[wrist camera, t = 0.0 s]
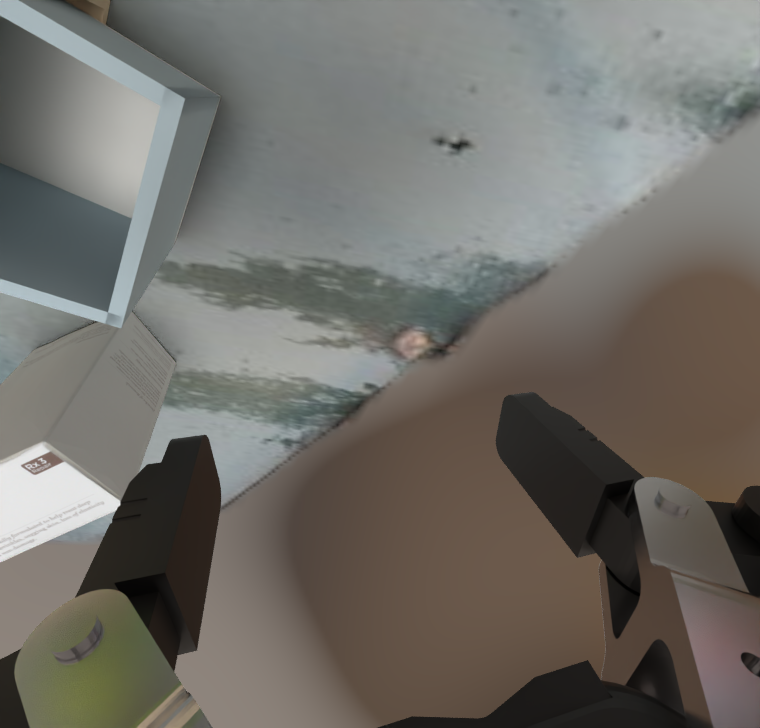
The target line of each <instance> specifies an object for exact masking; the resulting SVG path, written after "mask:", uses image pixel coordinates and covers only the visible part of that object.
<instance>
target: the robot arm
mask: <svg viewBox="0 0 760 728" xmlns="http://www.w3.org/2000/svg"><path fill="white" fill-rule="evenodd" d="M496 446H497V451H498V454H499V456H500V458H501V459H502V461H503V462H504V464H505V465H506V466H507V467H508V469H509V470H510V471H511V473H512V474H513V475H514V476H515V478H516V479H517V480H518V481H519V483H520V484H521V485H522V487H523V488H524V489H525V491H526V492H527V493H528V495H529V496H530V497H531V499H532V500H533V501H534V502H535V504H536V505H537V506H538V508H539V509H540V510H541V511H542V513H543V514H544V515H545V517H546V518H547V519H548V520H549V522H550V523H551V524H552V526H553V527H554V528H555V529H556V530H557V532H558V533H559V535H560V536H561V537H562V539H563V540H564V541H565V543H566V544H567V545H568V546H569V548H570V549H571V550H572V552H573V553H574V554H575V556H576V557H577V558H578V557H582V556H586V555H590V554H594V553H597V554H598V556H599V557H600V558H601V559H602V561H601V563H600V565H599V580H600V591H601V602H602V613H603V624H604V634H605V659H604V664H603V669H602V676H601V680H600V679H599V677H598V676H597V674H596V673H595V671H594V670H593V668H592V666H591V664H590V663H589V661H588V660H587V661H584V662H581V663H578V664H575V665H571V666H568V667H565V668H562V669H559V670H556V671H553V672H550V673H547V674H544V675H541V676H537V677H535V678H533V679H532V680H531V681H530V682H529V683H527V684H526V685H525V686H524V687H523V688H521V689H520V690H519V691H518V692H517V693H515V694H514V695H513V696H512V697H510V698H509V699H508V700H507V701H506V702H505V703H504V704H502V705H501V706H500V707H498V708H497V709H496V710H495V711H494V712H492V713H491V714H490V715H488V716H487V717H484V718H479V719H474V718H443V717H442V718H440V717H409V718H406V719H404V720H400V721H397V722H394V723H391V724H388V725H384V726H381V727H378V728H760V486H750V487H747V488H746V489H745V490H744V491H743V492H742V494H741V496H740V497H739V499H738V500H737V502H736V503H724V502H712V501H704V500H703V499H702V498H701V497H700V496H699V495H697V494H696V493H694V492H693V491H691V490H690V489H688V488H686V487H684V486H682V485H680V484H678V483H675V482H673V481H670V480H666V479H662V478H655V477H647V478H644V477H643V476H642V475H641V474H640V473H638V472H637V471H636V470H635V469H634V468H632V467H631V466H630V465H629V464H628V463H626V462H625V461H624V460H623V459H622V458H620V457H619V456H618V455H617V454H615V453H614V452H613V451H612V450H611V449H610V448H608V447H607V446H606V445H605V444H604V443H603V442H601V441H598V440H597V437H595V436H594V435H593V434H592V433H591V432H589V431H588V430H587V431H586V430H585V427H584V426H582V425H581V424H580V423H579V422H577V421H576V420H575V419H574V418H573V417H572V416H570V415H568V414H566V413H564V412H562V411H560V410H558V409H556V408H554V407H551V406H550V405H549V404H548V403H547V402H545V401H544V400H543V399H542V398H541V397H539V395H537V394H536V393H534V392H529V393H521V394H514V395H508V396H506V397H505V398H504V401H503V404H502V410H501V415H500V421H499V426H498V430H497V436H496ZM220 508H221V487H220V481H219V477H218V473H217V469H216V465H215V461H214V458H213V454H212V450H211V446H210V442H209V439H208V437H207V436H206V435H201V436H193V437H186V438H178V439H172V440H171V441H170V442H169V444H168V447H167V450H166V452H165V455H164V457H163V460H162V462H161V463H155V464H148V465H146V466H145V467H144V468H143V469H142V470H141V471H140V472H139V473H138V474H137V475H136V476H135V477H134V478H133V479H132V480H131V481H130V482H129V484H128V487H127V489H126V491H125V493H124V495H123V497H122V499H121V502H120V506H118V508H117V510H116V512H115V514H114V516H113V519H112V523H111V524H110V525H109V527H108V529H107V531H106V533H105V536H104V538H103V540H102V542H101V544H100V546H99V548H98V551H97V553H96V555H95V557H94V559H93V561H92V563H91V565H90V568H89V570H88V572H87V574H86V577H85V578H84V580H83V583H82V585H81V587H80V589H79V591H78V593H77V595H76V597H75V598H74V599H72V600H70V601H68V602H67V603H65V604H64V605H62V606H61V607H59V608H58V609H56V610H55V611H54V612H52V613H51V614H50V615H49V616H48V617H47V618H45V619H44V620H43V621H42V622H41V623H40V624H39V625H38V626H37V627H36V628H35V630H34V631H33V632H32V633H31V635H30V636H29V637H28V639H27V640H26V642H25V643H24V645H23V647H22V648H21V649H20V650H18V651H16V652H14V653H12V654H10V655H8V656H7V657H4V658H2V659H0V728H212V726H211V725H210V723H209V721H208V720H207V718H206V717H205V715H204V713H203V712H202V710H201V709H200V707H199V706H198V704H197V703H196V701H195V700H194V698H193V697H192V696H191V694H190V693H187V691H186V690H185V689H184V687H183V685H182V684H181V682H180V681H179V679H178V677H177V676H176V674H175V673H174V670H175V665H176V660H177V655H180V654H184V653H188V652H193V651H196V650H197V647H198V640H199V634H200V627H201V622H202V616H203V610H204V604H205V598H206V592H207V586H208V580H209V574H210V568H211V562H212V556H213V550H214V544H215V538H216V531H217V526H218V520H219V514H220Z"/></svg>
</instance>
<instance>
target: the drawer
mask: <svg viewBox="0 0 760 728" xmlns="http://www.w3.org/2000/svg"><path fill="white" fill-rule="evenodd" d="M220 99H221V96H220V95H218V94H217V93H215V92H213V91H212V90H210V89H209V88H207V87H205V86H204V85H202V84H200V83H199V82H197V81H196V80H194V79H192V78H191V77H189V76H188V75H186V74H184V73H183V72H181V71H179V70H178V69H176V68H175V67H173V66H171V65H170V64H168V63H166V62H165V61H163V60H162V59H160V58H158V57H157V56H155V55H154V54H152V53H150V52H149V51H147V50H145V49H144V48H142V47H141V46H139V45H137V44H136V43H134V42H132V41H131V40H129V39H128V38H126V37H124V36H123V35H121V34H120V33H118V32H116V31H115V30H113V29H111V28H110V27H108V26H107V25H105V24H103V23H102V22H100V21H99V20H97V19H95V18H94V17H92V16H90V15H89V14H87V13H86V12H84V11H82V10H81V9H79V8H77V7H76V6H74V5H73V4H71V3H69V2H68V1H66V0H0V292H1V293H4V294H7V295H11V296H14V297H17V298H21V299H24V300H27V301H31V302H34V303H37V304H41V305H44V306H47V307H51V308H54V309H57V310H61V311H64V312H67V313H71V314H74V315H77V316H81V317H84V318H87V319H91V320H94V321H98V322H101V323H104V324H108V325H111V326H114V327H118V328H122V326H123V325H124V323H125V322H126V320H127V318H128V317H129V315H130V314H131V312H132V311H133V309H134V307H135V306H136V304H137V303H138V301H139V299H140V298H141V296H142V295H143V293H144V291H145V290H146V288H147V287H148V285H149V283H150V282H151V280H152V279H153V277H154V276H155V274H156V272H157V271H158V269H159V268H160V266H161V264H162V263H163V261H164V260H165V258H166V256H167V255H168V253H169V252H170V250H171V249H172V247H173V245H174V244H175V242H176V239H177V235H178V232H179V229H180V226H181V223H182V220H183V216H184V213H185V210H186V207H187V204H188V201H189V197H190V194H191V191H192V188H193V185H194V181H195V178H196V175H197V172H198V169H199V166H200V162H201V159H202V156H203V153H204V150H205V147H206V143H207V140H208V137H209V134H210V131H211V127H212V124H213V121H214V118H215V115H216V112H217V108H218V105H219V102H220Z"/></svg>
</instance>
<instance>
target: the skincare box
mask: <svg viewBox="0 0 760 728" xmlns="http://www.w3.org/2000/svg"><path fill="white" fill-rule="evenodd" d="M175 366H176V362H175V361H174V360H173V358H172V357H171V356H170V355H169V354H168V353H167V351H166V350H165V349H164V348H163V347H162V346H161V344H160V343H159V342H158V341H157V340H156V339H155V337H154V336H153V335H152V334H151V333H150V332H149V330H148V329H147V328H146V327H145V326H144V324H143V323H142V322H141V321H140V320H139V319H138V318H137V316H136V315H135V314H134V313H133V312H131V314H130V315H129V317H128V318H127V320H126V322H125V323H124V325H123V326H122V328H118V327H114V326H111V325H108V324H104V323H101V322H96V323H94V324H91V325H89V326H87V327H84V328H82V329H80V330H77V331H75V332H73V333H70V334H68V335H66V336H64V337H62V338H59V339H57V340H56V341H54V342H52V343H49V344H47V345H44V346H42V347H39V348H37V349H34V350H33V351H32V352H31V353H30V355H29V356H28V357H27V358H26V359H25V360H24V361H23V362H22V363H21V364H20V365H19V366H18V367H17V368H16V369H15V370H14V371H13V372H12V373H11V374H10V375H9V376H8V378H7V379H6V380H5V381H4V382H3V383H2V384H1V385H0V562H2V561H4V560H6V559H9V558H11V557H13V556H15V555H17V554H20V553H22V552H24V551H26V550H28V549H31V548H33V547H35V546H37V545H40V544H42V543H44V542H46V541H48V540H51V539H53V538H55V537H58V536H60V535H62V534H64V533H67V532H69V531H71V530H73V529H76V528H78V527H80V526H82V525H85V524H87V523H89V522H91V521H94V520H96V519H98V518H100V517H103V516H105V515H107V514H109V513H112V512H114V511H116V510H117V508H118V506H120V502H121V499H122V497H123V495H124V493H125V491H126V489H127V487H128V484H129V482H130V481H131V480H132V479H133V478H134V477H135V476H136V475H137V474H138V473H139V470H140V467H141V464H142V461H143V458H144V455H145V452H146V449H147V446H148V444H149V441H150V438H151V435H152V432H153V429H154V426H155V423H156V421H157V418H158V415H159V412H160V409H161V406H162V403H163V401H164V398H165V395H166V392H167V389H168V386H169V383H170V380H171V377H172V375H173V371H174V369H175Z"/></svg>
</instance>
